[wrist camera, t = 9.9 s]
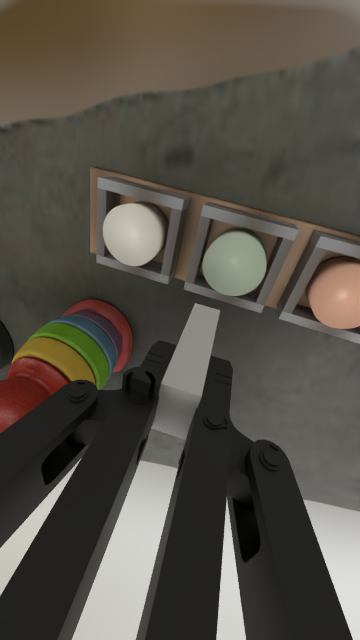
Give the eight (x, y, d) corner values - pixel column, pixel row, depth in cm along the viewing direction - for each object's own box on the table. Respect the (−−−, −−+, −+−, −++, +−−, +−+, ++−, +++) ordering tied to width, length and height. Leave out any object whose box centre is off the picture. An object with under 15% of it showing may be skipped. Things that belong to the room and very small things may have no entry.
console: (95, 249, 27) (75, 258, 24) (96, 167, 23) (72, 165, 20) (372, 333, 24) (389, 356, 21) (435, 255, 20) (467, 269, 17)
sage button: (202, 274, 24) (196, 286, 21) (217, 221, 21) (211, 227, 19) (252, 289, 23) (252, 303, 21) (274, 236, 20) (277, 245, 18)
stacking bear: (57, 331, 36) (-84, 442, 21) (78, 279, 30) (-95, 379, 15) (120, 372, 37) (27, 506, 22) (150, 329, 31) (54, 470, 16)
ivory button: (117, 249, 25) (102, 257, 22) (120, 195, 22) (103, 197, 20) (163, 263, 24) (153, 272, 22) (173, 209, 22) (162, 213, 19)
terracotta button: (295, 302, 23) (300, 317, 20) (323, 249, 20) (332, 260, 18) (350, 318, 22) (362, 336, 20) (386, 267, 19) (406, 280, 17)
